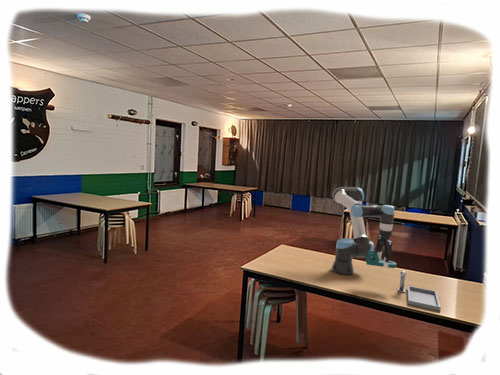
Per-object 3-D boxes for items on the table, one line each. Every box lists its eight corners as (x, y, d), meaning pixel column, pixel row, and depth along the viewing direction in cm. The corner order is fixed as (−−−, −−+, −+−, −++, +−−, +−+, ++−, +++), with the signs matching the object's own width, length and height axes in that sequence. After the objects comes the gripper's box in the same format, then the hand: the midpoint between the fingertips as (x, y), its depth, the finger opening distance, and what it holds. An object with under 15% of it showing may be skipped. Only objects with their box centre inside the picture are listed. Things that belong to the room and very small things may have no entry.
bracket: (366, 264, 209) (367, 252, 208) (365, 261, 215) (367, 249, 214) (397, 268, 204) (398, 256, 203) (395, 265, 211) (396, 253, 210)
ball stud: (397, 291, 205) (399, 271, 204) (397, 289, 209) (399, 269, 207) (404, 292, 203) (407, 273, 202) (404, 290, 207) (406, 270, 206)
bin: (408, 304, 187) (408, 300, 187) (407, 289, 209) (407, 285, 209) (440, 311, 181) (440, 307, 181) (435, 294, 203) (436, 291, 202)
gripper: (400, 234, 197) (396, 270, 200) (383, 225, 218) (379, 258, 221) (388, 234, 196) (384, 270, 199) (372, 225, 217) (369, 258, 220)
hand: (382, 264), depth 210 cm, fingers closed on bracket, 8 cm apart
